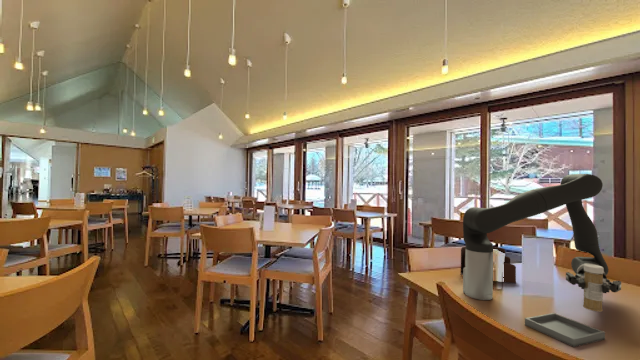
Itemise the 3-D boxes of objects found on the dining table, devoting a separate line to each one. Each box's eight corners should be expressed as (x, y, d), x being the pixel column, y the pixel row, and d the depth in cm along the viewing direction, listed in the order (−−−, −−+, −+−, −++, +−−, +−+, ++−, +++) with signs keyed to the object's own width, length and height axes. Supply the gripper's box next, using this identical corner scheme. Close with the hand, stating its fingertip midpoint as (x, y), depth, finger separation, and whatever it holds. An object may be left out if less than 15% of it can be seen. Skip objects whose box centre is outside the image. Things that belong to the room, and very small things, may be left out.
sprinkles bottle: (583, 304, 96) (584, 262, 96) (603, 309, 93) (603, 265, 93) (582, 309, 93) (583, 265, 93) (603, 313, 89) (603, 268, 90)
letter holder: (460, 274, 142) (460, 244, 142) (504, 276, 140) (504, 246, 140) (468, 281, 132) (469, 249, 132) (516, 283, 130) (516, 250, 130)
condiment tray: (524, 324, 90) (524, 318, 90) (554, 319, 94) (554, 312, 95) (573, 347, 78) (574, 339, 78) (604, 339, 82) (604, 332, 82)
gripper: (564, 260, 108) (563, 270, 95) (620, 269, 99) (627, 281, 86) (564, 281, 108) (563, 294, 95) (620, 291, 99) (627, 307, 86)
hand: (593, 287), depth 91 cm, fingers closed on sprinkles bottle, 4 cm apart
